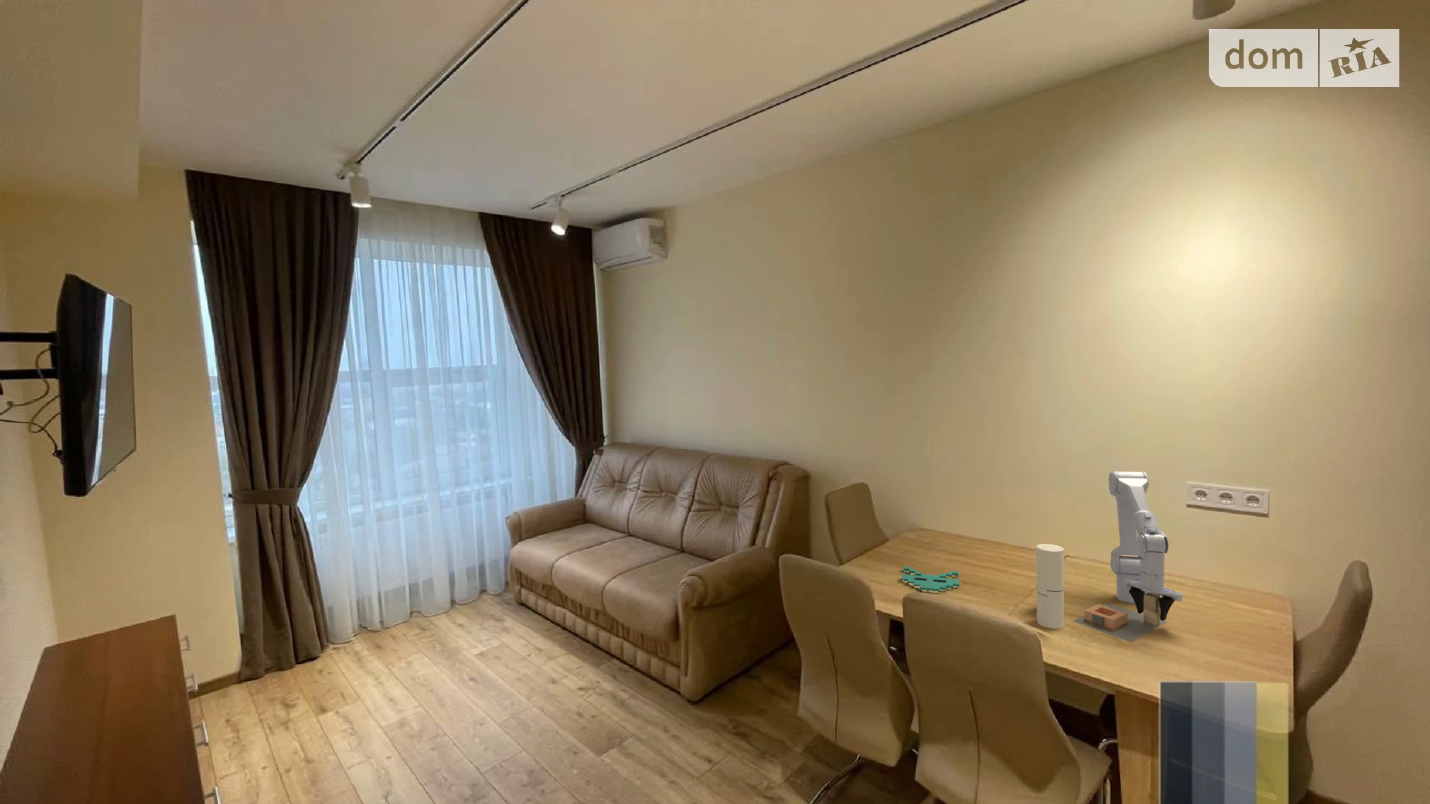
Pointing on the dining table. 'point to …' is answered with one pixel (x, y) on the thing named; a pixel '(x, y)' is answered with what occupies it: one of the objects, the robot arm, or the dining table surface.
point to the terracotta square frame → (1105, 617)
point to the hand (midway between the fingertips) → (1151, 616)
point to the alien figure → (931, 580)
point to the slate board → (1130, 630)
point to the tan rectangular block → (1151, 609)
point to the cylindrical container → (1050, 586)
